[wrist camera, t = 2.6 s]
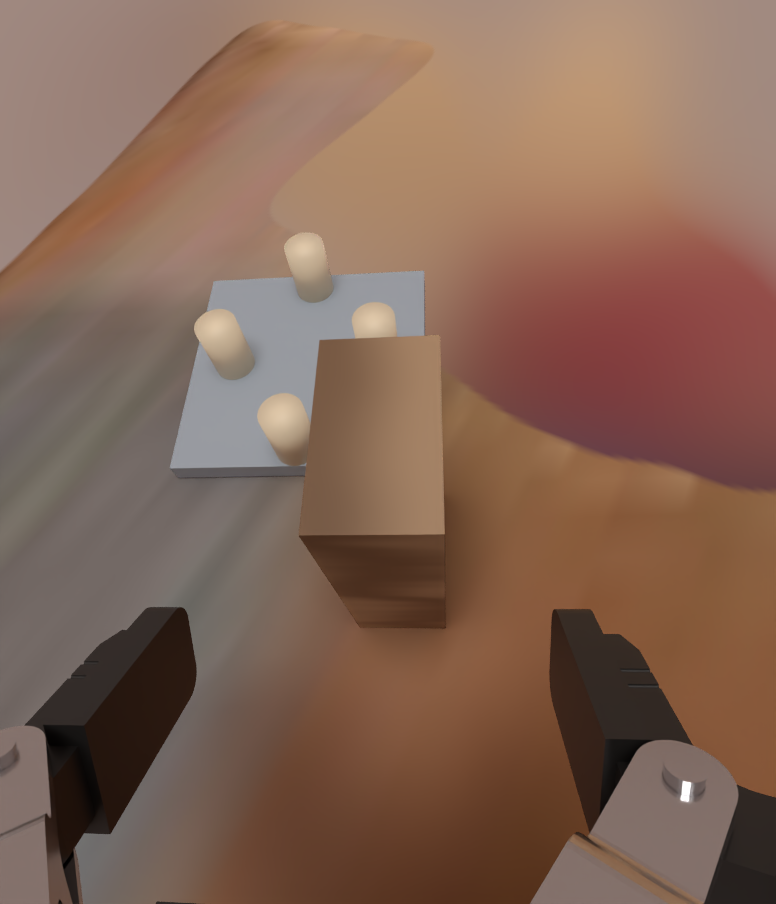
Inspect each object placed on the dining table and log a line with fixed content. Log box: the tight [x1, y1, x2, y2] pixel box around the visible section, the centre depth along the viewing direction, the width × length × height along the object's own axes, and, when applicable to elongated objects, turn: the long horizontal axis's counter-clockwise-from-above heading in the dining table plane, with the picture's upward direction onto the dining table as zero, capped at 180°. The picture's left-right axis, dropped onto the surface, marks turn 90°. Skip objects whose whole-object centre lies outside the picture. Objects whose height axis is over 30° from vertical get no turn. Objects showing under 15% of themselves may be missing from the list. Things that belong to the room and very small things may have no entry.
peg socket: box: [170, 232, 425, 478], centre depth 28 cm, size 12×12×4 cm
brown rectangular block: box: [299, 335, 446, 628], centre depth 20 cm, size 4×6×11 cm, turn 179°
